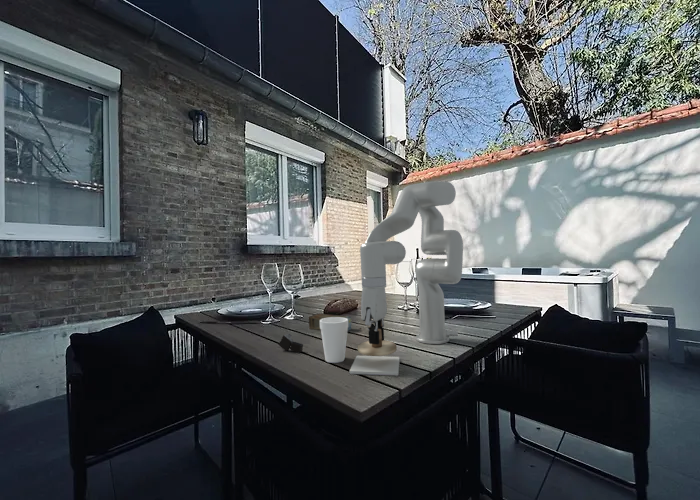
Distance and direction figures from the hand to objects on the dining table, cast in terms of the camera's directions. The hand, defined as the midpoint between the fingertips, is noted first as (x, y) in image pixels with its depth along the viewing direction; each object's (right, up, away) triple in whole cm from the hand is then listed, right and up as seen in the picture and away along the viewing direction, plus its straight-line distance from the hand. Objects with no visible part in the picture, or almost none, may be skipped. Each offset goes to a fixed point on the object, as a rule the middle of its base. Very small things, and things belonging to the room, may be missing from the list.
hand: (376, 341), depth 103 cm
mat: (0, -7, -1) cm, 7 cm away
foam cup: (-13, -8, +7) cm, 17 cm away
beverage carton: (-17, -8, +50) cm, 54 cm away
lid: (0, -2, 0) cm, 2 cm away
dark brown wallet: (-30, -9, +18) cm, 36 cm away
